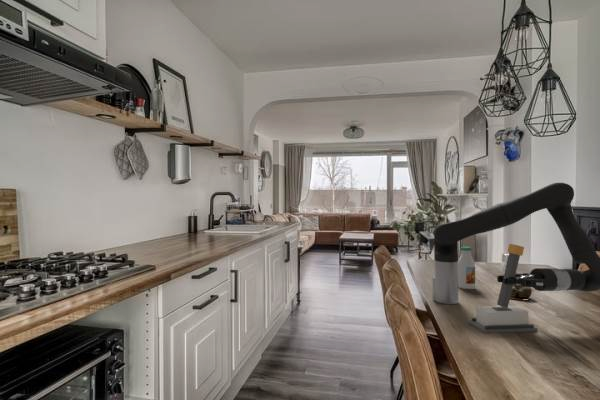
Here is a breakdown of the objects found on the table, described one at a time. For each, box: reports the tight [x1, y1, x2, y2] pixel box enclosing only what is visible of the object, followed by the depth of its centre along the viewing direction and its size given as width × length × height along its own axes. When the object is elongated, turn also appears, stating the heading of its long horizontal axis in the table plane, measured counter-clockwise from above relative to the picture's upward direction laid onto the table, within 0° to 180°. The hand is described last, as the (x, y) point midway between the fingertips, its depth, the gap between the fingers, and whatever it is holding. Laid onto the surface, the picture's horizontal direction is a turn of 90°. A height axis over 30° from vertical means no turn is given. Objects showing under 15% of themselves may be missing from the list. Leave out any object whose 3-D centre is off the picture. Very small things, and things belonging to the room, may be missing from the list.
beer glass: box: [501, 252, 518, 275], centre depth 176 cm, size 7×7×15 cm
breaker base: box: [468, 305, 538, 334], centre depth 115 cm, size 18×9×6 cm, turn 94°
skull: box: [510, 284, 532, 302], centre depth 151 cm, size 12×10×10 cm
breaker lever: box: [496, 243, 525, 308], centre depth 115 cm, size 3×3×21 cm
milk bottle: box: [458, 246, 476, 290], centre depth 168 cm, size 8×8×20 cm
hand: (501, 279), depth 115 cm, fingers closed on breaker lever, 2 cm apart
